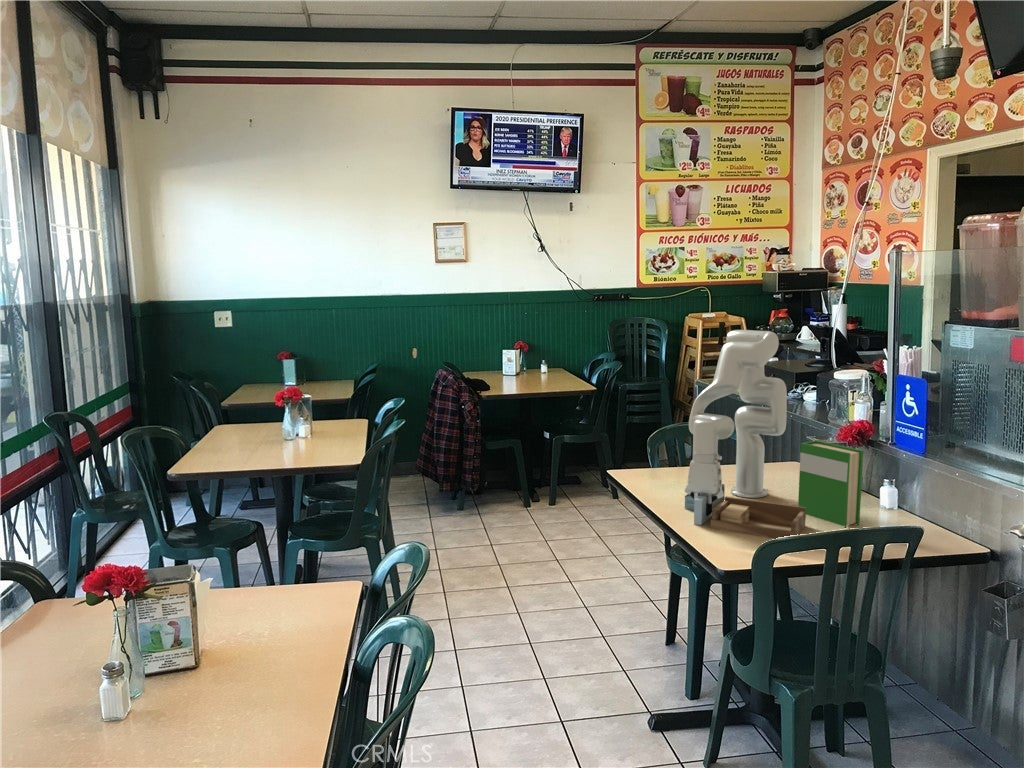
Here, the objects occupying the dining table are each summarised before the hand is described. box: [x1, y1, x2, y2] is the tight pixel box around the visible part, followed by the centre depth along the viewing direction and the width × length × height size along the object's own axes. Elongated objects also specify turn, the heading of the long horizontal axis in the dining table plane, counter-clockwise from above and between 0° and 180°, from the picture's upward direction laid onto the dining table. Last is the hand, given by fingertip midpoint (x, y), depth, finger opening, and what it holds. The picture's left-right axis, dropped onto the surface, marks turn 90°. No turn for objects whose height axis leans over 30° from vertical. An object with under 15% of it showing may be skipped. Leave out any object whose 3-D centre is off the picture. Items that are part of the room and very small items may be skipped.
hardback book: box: [797, 440, 864, 529], centre depth 268 cm, size 18×7×24 cm, turn 32°
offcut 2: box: [720, 512, 749, 524], centre depth 264 cm, size 11×6×2 cm, turn 150°
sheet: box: [693, 493, 714, 526], centre depth 267 cm, size 12×2×8 cm, turn 150°
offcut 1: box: [721, 504, 750, 520], centre depth 263 cm, size 11×6×2 cm, turn 150°
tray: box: [710, 495, 807, 539], centre depth 260 cm, size 16×25×7 cm, turn 60°
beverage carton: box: [684, 483, 726, 511], centre depth 285 cm, size 8×19×7 cm, turn 147°
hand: (703, 513), depth 268 cm, fingers closed on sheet, 2 cm apart
